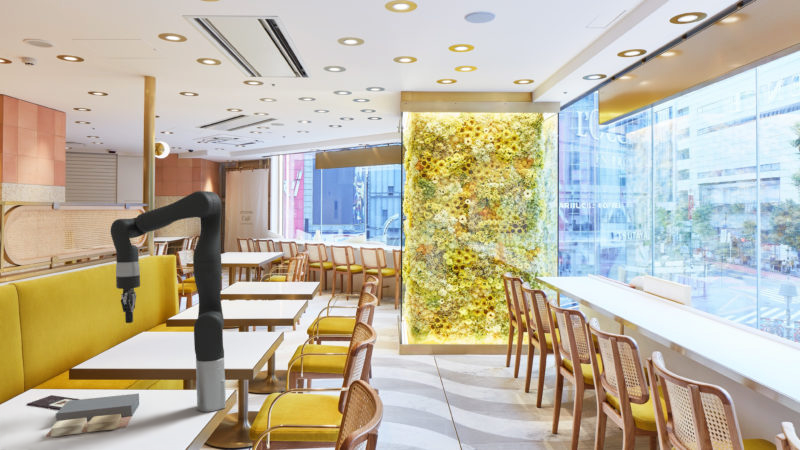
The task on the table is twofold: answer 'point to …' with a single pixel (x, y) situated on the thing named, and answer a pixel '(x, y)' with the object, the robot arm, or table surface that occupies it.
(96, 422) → the oak tile
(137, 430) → the table surface
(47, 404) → the chocolate bar
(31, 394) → the table surface
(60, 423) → the birch tile
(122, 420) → the rubber mat
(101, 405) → the slate board
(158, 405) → the table surface
